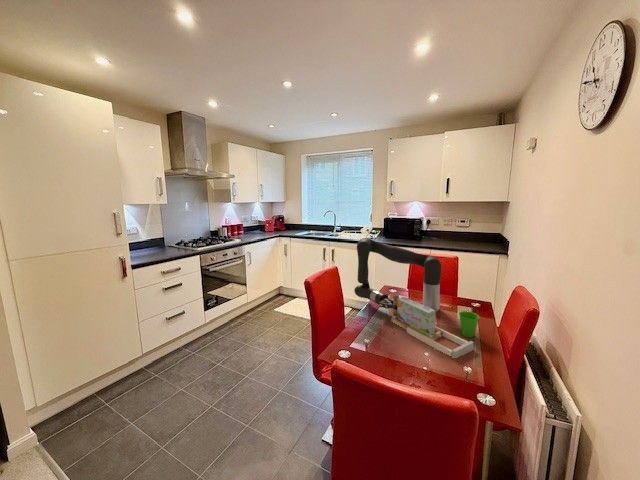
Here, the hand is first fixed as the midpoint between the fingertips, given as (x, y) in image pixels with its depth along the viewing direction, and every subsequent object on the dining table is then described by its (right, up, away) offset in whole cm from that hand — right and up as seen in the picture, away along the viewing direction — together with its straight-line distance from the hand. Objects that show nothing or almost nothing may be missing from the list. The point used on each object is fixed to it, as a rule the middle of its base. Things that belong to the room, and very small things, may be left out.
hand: (399, 307), depth 151 cm
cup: (+30, -10, -16) cm, 35 cm away
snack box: (+5, -10, -10) cm, 15 cm away
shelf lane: (+13, -11, -20) cm, 26 cm away
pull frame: (+5, -9, -7) cm, 12 cm away
